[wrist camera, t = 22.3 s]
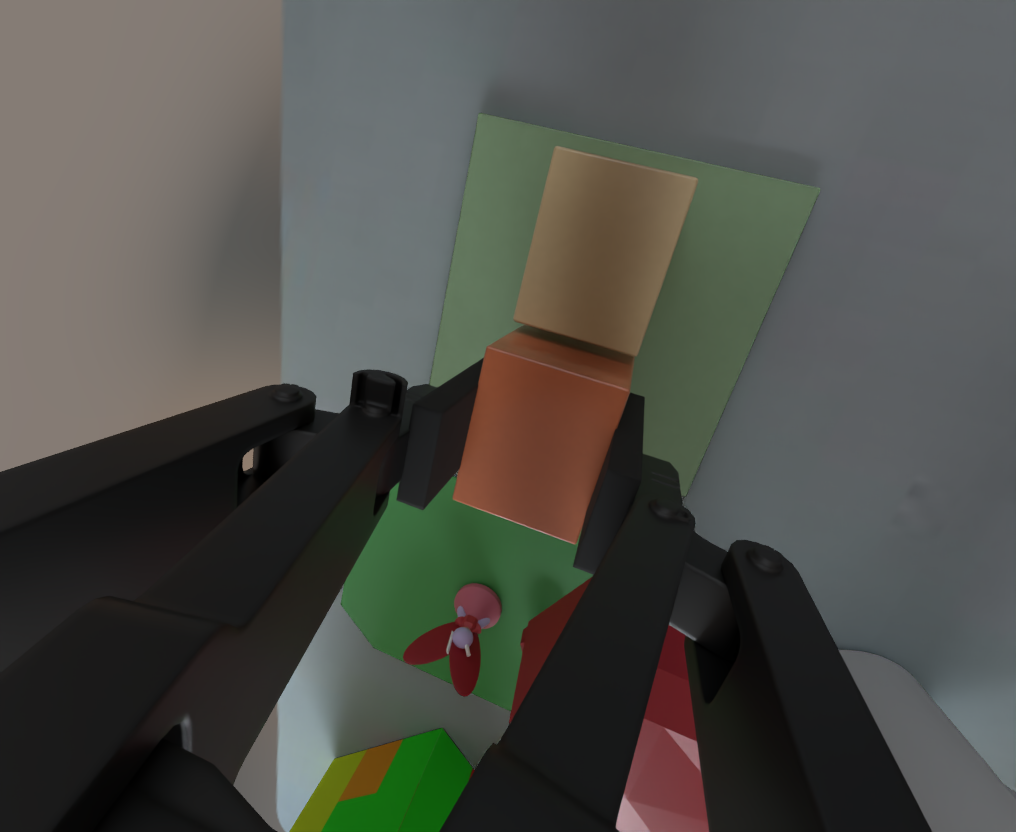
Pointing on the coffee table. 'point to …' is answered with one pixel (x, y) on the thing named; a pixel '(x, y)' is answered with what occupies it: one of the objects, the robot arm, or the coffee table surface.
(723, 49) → the coffee table surface
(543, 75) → the coffee table surface
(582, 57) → the coffee table surface
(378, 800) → the puzzle toy
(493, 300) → the mat
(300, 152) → the coffee table surface
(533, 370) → the terracotta piece
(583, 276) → the birch piece
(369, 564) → the low-poly diorama
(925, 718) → the cup
